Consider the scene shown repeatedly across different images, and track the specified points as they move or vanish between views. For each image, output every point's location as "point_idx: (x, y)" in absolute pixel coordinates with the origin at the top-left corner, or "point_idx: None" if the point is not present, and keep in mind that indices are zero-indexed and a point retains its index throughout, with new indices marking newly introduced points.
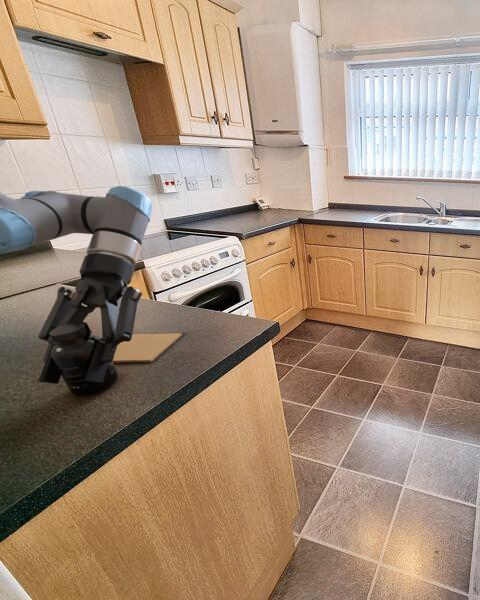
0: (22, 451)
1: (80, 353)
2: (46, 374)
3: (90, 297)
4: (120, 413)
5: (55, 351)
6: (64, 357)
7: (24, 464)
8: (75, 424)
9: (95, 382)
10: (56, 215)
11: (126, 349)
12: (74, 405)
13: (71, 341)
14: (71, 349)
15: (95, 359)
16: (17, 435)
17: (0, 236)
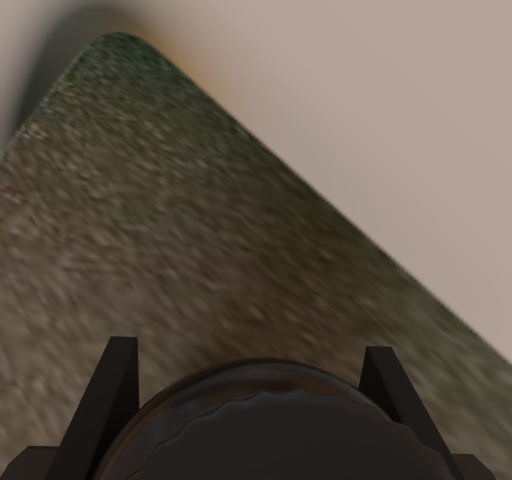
0: (225, 147)
1: (142, 410)
2: (377, 376)
3: None
4: (4, 285)
5: (328, 391)
6: (237, 361)
7: (177, 106)
8: (146, 240)
9: (138, 395)
10: None
11: None
12: (233, 348)
13: (180, 427)
14: (199, 406)
15: (70, 427)
16: (304, 208)
17: None
